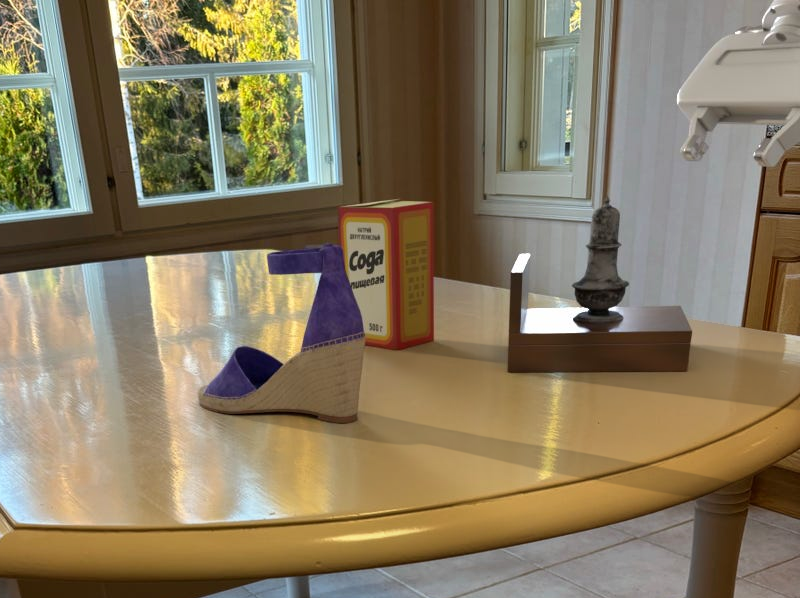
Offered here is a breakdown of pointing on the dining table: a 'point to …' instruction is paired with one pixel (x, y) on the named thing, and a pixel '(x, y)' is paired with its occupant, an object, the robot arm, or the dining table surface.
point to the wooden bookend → (592, 336)
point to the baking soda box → (391, 269)
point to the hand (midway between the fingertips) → (723, 160)
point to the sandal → (302, 351)
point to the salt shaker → (601, 270)
